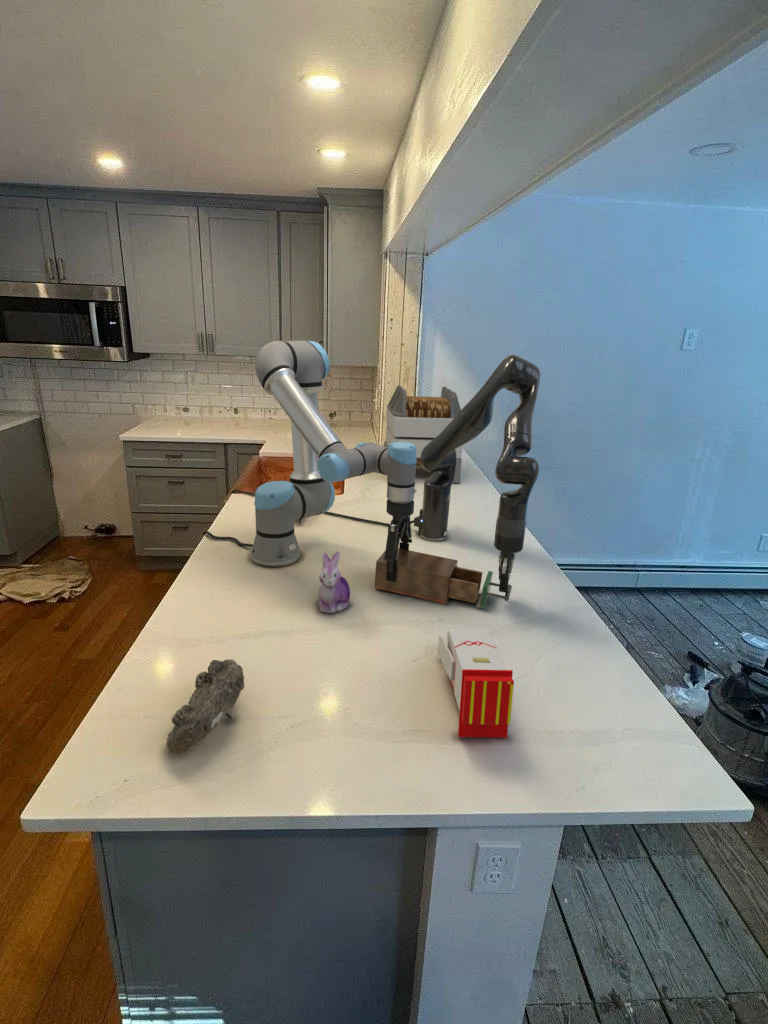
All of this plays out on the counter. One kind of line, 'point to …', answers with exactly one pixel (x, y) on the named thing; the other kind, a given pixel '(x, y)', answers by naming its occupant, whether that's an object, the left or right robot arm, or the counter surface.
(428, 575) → the cabinet
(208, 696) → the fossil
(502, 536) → the right robot arm
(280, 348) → the left robot arm
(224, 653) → the counter surface
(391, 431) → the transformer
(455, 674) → the toy
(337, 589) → the figurine
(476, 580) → the drawer
